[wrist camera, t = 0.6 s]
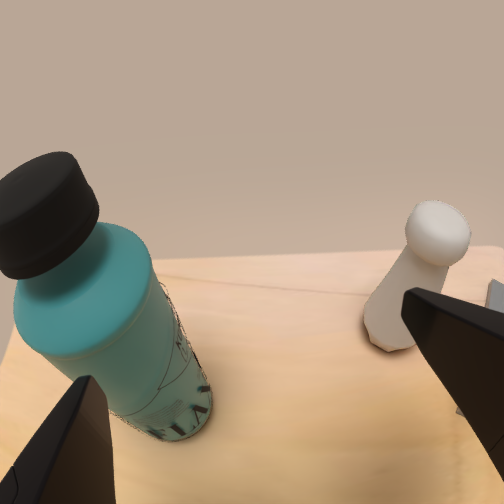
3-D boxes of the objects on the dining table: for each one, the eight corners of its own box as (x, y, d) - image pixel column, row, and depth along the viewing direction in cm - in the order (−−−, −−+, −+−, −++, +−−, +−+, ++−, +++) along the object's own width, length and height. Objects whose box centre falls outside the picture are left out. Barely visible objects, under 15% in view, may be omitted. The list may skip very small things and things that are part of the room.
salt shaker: (392, 295, 27) (438, 179, 18) (429, 339, 24) (500, 230, 14) (344, 321, 26) (382, 199, 17) (381, 372, 22) (453, 265, 13)
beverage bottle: (167, 462, 18) (-71, 310, 4) (122, 396, 22) (-48, 194, 7) (236, 413, 21) (155, 162, 7) (184, 354, 25) (86, 113, 10)
